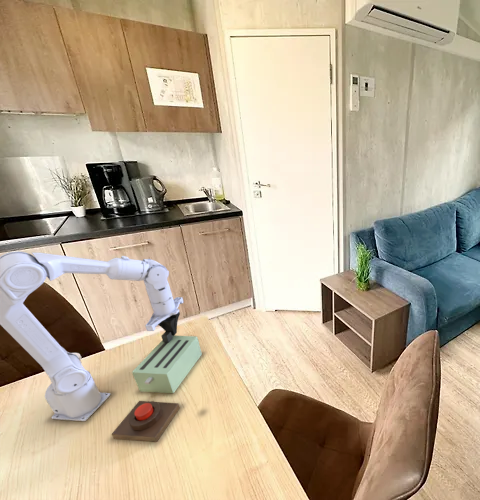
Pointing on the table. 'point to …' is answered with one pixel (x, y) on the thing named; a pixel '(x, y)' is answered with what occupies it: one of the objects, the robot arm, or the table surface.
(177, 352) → the toaster
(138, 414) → the button
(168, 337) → the browning slider
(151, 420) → the button base
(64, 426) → the table surface
